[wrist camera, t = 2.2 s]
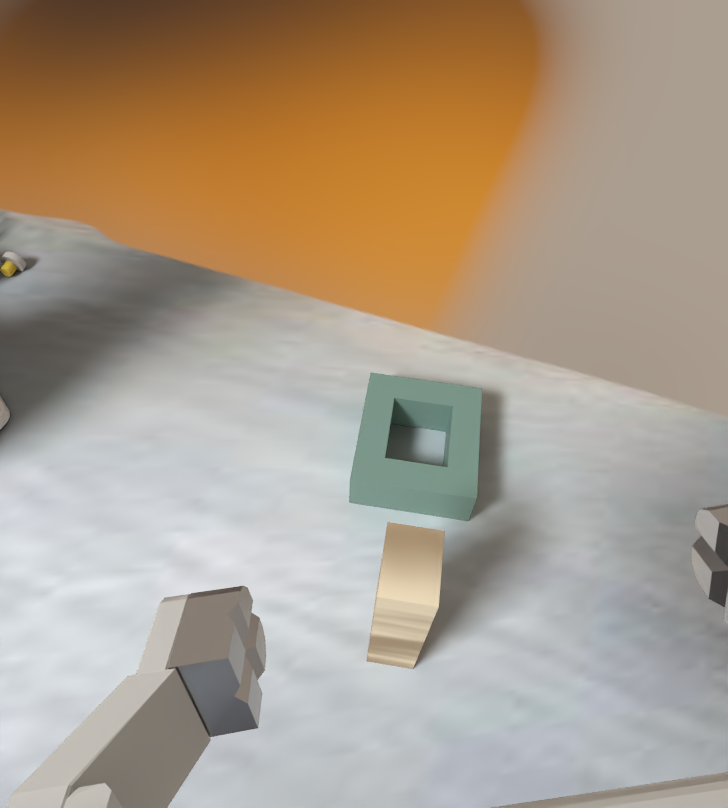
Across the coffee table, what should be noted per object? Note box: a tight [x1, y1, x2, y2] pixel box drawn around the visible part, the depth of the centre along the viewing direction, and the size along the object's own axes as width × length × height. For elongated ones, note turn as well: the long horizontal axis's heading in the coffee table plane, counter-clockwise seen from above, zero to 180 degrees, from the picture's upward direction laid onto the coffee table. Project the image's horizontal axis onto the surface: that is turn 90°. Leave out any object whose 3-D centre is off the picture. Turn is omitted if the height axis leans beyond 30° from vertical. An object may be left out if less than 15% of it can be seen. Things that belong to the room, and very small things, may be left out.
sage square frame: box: [349, 373, 482, 521], centre depth 47 cm, size 10×9×4 cm
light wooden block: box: [367, 522, 445, 669], centre depth 35 cm, size 4×3×12 cm
